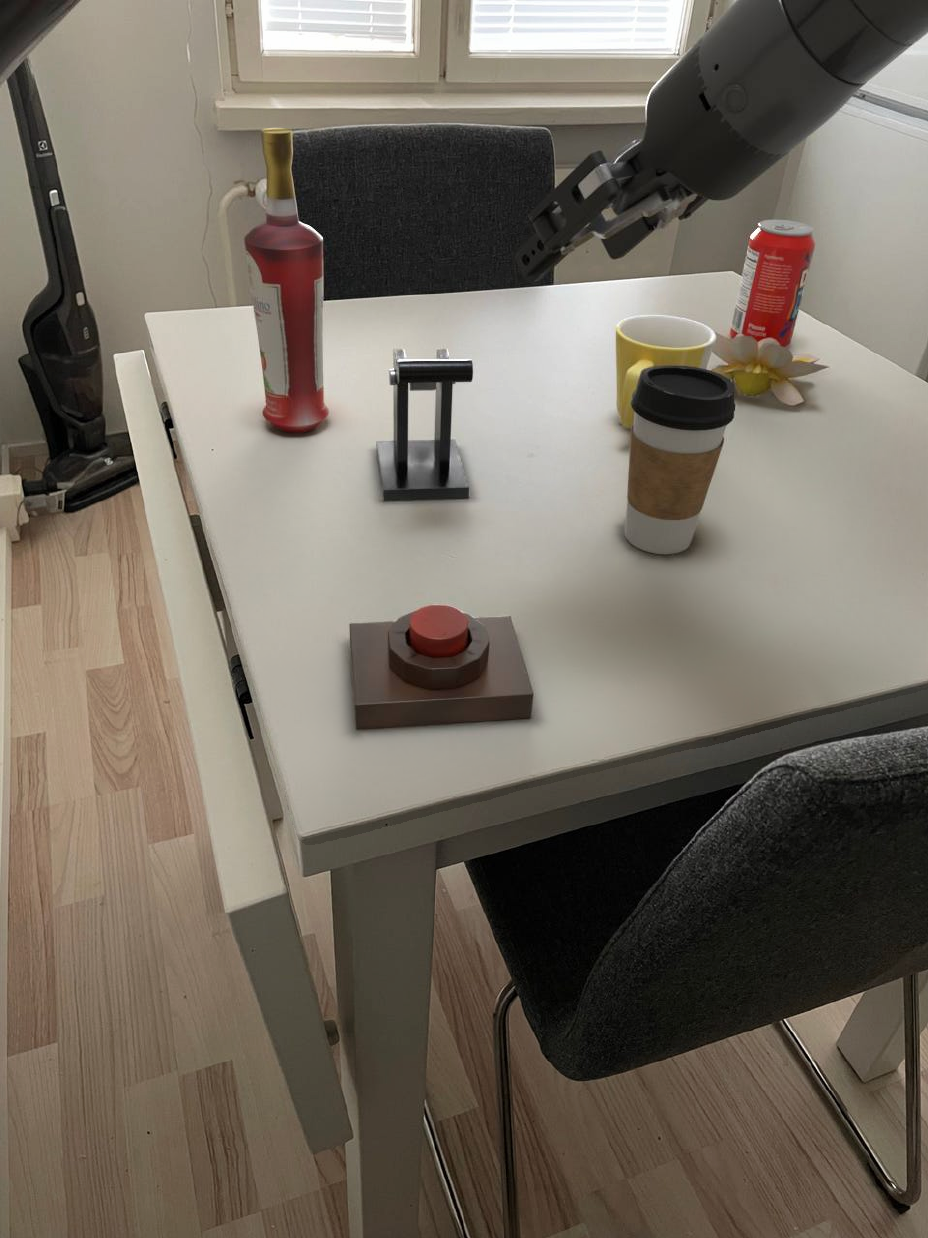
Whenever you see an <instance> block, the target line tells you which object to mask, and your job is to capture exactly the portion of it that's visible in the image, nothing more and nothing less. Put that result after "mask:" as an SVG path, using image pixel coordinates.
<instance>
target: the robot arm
mask: <svg viewBox="0 0 928 1238" xmlns="http://www.w3.org/2000/svg"><path fill="white" fill-rule="evenodd" d="M81 2H82V0H0V88H1V87H2V86H3V85H4V84H5V82H7V80H8V79H9V77H11V76H12V74H13V73H14V72H15V71H16V70H17V69H18V67H19V66H20V65H21V64H22V63H23V62H24V60H25V59H26V58H27V57H28V56H29V55H30V54H31V53H32V52H34V50H35V49H36V48H37V47H38V46H39V45H40V43H41V42H43V40H44V39H46V38H47V36H49V34H50V33H51V32H52V31H54V29H55V28H56V27H57V26H59V24H60V23H62V21H63V20H64V19H65V18H66V17H67V16H68V15H69V14H70V13H71V11H73V10H74V9H75V8H76V7H77V5H79V3H81ZM927 34H928V0H736V1H735V2H734V3H732V4H731V6H729V8H727V10H725V12H724V13H723V14H722V15H721V16H720V17H719V18H718V19H717V20H716V21H715V22H714V23H713V24H712V25H711V26H710V27H709V28H708V30H706V31H705V32H704V33H703V35H701V36H700V37H699V39H698V40H696V42H695V43H694V44H693V45H692V46H691V47H690V48H689V49H688V50H687V51H686V52H685V53H684V54H683V55H682V56H681V57H680V58H679V59H678V60H677V61H676V62H675V64H673V65H672V66H671V67H670V68H669V70H667V72H666V73H664V75H662V77H661V78H660V79H659V80H658V81H657V82H656V83H655V84H654V85H653V86H652V88H651V89H650V91H649V94H648V96H647V98H646V103H645V127H644V128H645V129H644V135H643V139H642V138H637V139H634V140H633V141H631V142H629V143H628V144H626V145H625V146H623V147H621V148H620V149H618V150H617V152H616V153H615V156H614V158H612V159H611V160H609V161H608V160H607V158H606V156H605V154H604V152H603V150H597V151H594V152H591V153H589V154H588V155H587V157H585V159H583V160H582V162H581V163H579V164H578V165H577V166H576V167H575V168H574V169H573V170H572V171H571V172H570V173H569V174H568V175H567V176H566V177H565V178H564V179H563V180H562V181H561V182H560V183H558V185H557V186H556V187H555V188H554V189H552V190H551V192H550V193H548V195H547V196H546V197H544V198H543V200H541V201H540V202H539V203H538V204H537V206H535V207H534V208H533V209H532V210H531V212H529V213H528V215H527V216H528V218H529V220H530V222H531V224H532V225H533V227H534V229H535V232H534V233H533V234H532V235H531V236H530V237H529V238H528V239H527V240H526V241H525V242H524V243H523V244H522V245H521V246H520V247H519V248H518V249H517V250H516V251H515V253H514V261H515V264H516V265H517V267H518V269H519V271H520V273H521V275H522V277H523V279H524V281H525V282H526V283H528V284H533V283H536V282H539V281H541V280H542V279H543V278H544V277H545V276H546V275H547V274H549V273H550V272H551V271H552V270H553V269H554V268H555V267H556V266H557V265H558V264H559V263H560V262H561V261H563V259H565V258H566V257H567V256H568V255H569V254H570V253H572V252H573V251H575V250H576V249H577V248H578V247H580V246H581V245H583V244H585V243H586V242H588V241H590V240H591V239H593V238H594V237H598V238H599V239H600V241H601V243H602V245H603V247H604V249H605V251H606V252H607V254H608V257H609V258H610V259H611V260H618V259H622V258H623V257H625V256H626V255H627V254H629V253H630V252H631V251H632V250H633V249H634V248H636V247H637V246H638V245H639V244H640V243H641V242H642V241H644V240H645V239H646V238H648V237H649V236H650V235H651V234H652V233H653V232H654V231H659V230H663V229H665V228H668V227H669V225H670V223H672V222H673V220H675V219H678V221H682V220H686V219H688V218H690V217H691V216H692V215H693V213H694V212H696V211H697V210H698V209H699V208H700V207H701V206H703V205H704V204H705V203H706V202H707V201H709V200H710V201H726V200H730V199H732V198H734V197H736V196H737V195H738V194H739V193H741V192H742V191H744V189H746V188H747V187H748V186H750V184H752V183H753V182H754V181H756V180H757V179H758V178H759V177H761V176H762V175H763V174H764V173H766V172H767V171H768V170H769V169H771V168H772V167H773V166H774V165H775V164H777V163H778V162H779V161H780V160H782V159H783V158H784V157H785V156H787V155H788V154H789V153H790V152H791V151H793V149H795V148H796V147H797V146H798V145H800V144H801V143H802V142H803V141H805V140H807V138H808V137H810V136H811V135H812V134H813V133H815V132H816V131H818V129H819V128H821V127H822V126H823V125H824V124H826V123H827V122H828V121H829V120H831V118H833V117H834V116H835V115H836V114H837V113H838V112H839V111H840V110H841V109H842V108H843V107H844V106H845V105H846V104H847V102H848V101H849V100H850V99H851V98H852V97H853V96H854V95H855V94H856V93H857V92H858V91H859V90H860V89H861V88H863V87H864V86H865V85H866V84H867V83H868V82H869V81H870V80H872V79H873V78H874V77H875V76H876V75H878V74H879V73H880V72H881V71H882V70H884V69H885V68H886V67H887V66H888V65H890V64H891V63H892V62H894V61H895V60H896V59H897V58H899V57H900V56H901V55H902V54H903V53H904V52H906V51H907V50H909V48H911V47H912V46H913V45H914V44H916V43H918V41H920V40H921V39H922V38H923V37H925V36H926V35H927ZM608 209H611V210H612V212H613V213H614V215H615V217H613V218H610V219H609V218H606V217H605V216H604V215H603V213H602V212H604V211H605V210H608Z"/></svg>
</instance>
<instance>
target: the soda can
mask: <svg viewBox="0 0 928 1238" xmlns="http://www.w3.org/2000/svg"><path fill="white" fill-rule="evenodd" d="M813 232H814V229H813V227H811V226H810V225H808V224H806V223H802V222H800V221H794V220H789V219H788V220H787V219H765V220H761V221H759V223H758V227H757V229H755V231H753V233H751V235H750V237H749V241H748V246H747V250H746V255H745V260H744V265H743V269H742V272H741V278H740V283H739V288H738V292H737V297H736V301H735V307H734V310H733V315H732V320H731V324H730V331H729V337H730V340H732V339H733V338H734V337H736V335H737V334H739V333H741V334H743V335H744V336H750V337H753V338H754V339H755V340H756V341H757V342H759V341H761V340H763V339H765V338H773V339H775V340H777V341H778V343H779V344H780V346H782V347H785V348H787V347H789V346H790V344H791V342H792V339H793V334H794V330H795V327H796V323H797V318H798V315H799V311H800V307H801V304H802V300H803V295H804V291H805V288H806V284H807V279H808V275H809V271H810V267H811V265H812V260H813V257H814V252H815V247H816V242H815V240H814V236H813V234H812V233H813Z"/></svg>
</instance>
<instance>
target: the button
mask: <svg viewBox="0 0 928 1238" xmlns="http://www.w3.org/2000/svg"><path fill="white" fill-rule="evenodd" d="M414 611H415V612H414V613H413V614H412V616H411V618H410V645H411V647H412V648H413V650H414V651H415V652H417V653H418V654H421V655H424V656H427V657H431V658H448V657H453V656H455V655H458V654H460V653H461V652H462V651H463V650H464V649H465V647H466V645H467V636H468V619H467V617H466V615H465V614H464V613H465V612H464V611H462V610H460V609H458V608H457V607H455V606H452V605H448V604H447V605H446V604H430V605H429V604H428V605H425V606H422V607H420V608H418V609H416V610H414ZM463 612H464V613H463Z"/></svg>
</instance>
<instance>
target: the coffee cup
mask: <svg viewBox="0 0 928 1238" xmlns="http://www.w3.org/2000/svg"><path fill="white" fill-rule="evenodd" d="M710 370H711V369H707V368H706V369H702V368H697V367H690V366H672V365H669V366H654V367H648V368H645V369H643V370H642V371H641V373H640V376H639V380H638V383H637V387H636V390H635V391H634V392H633V394H632V400H631V407H632V408H633V410H634V411H635V414H634V423H633V424H632V427H631V428H630V441H629V455H628V474H627V475H628V476H627V491H626V493H627V495H626V498H627V502H626V510H625V511H626V512H625V523H624V524H625V525H624V535H625V538H626V540H627V541H628V542H629V543H630V544H631V545H632V546H634V547H635V548H637V549H638V550H642V551H644V552H647V553H651V554H657V555H675V554H679V553H681V552H683V551H685V550H687V549H688V548H689V547H690V546H691V543H692V541H693V538H694V534H695V531H696V528H697V524H698V521H699V517H700V515H701V511H702V509H703V507H704V504H705V500H706V498H707V495H708V492H709V489H710V485H711V482H712V479H713V476H714V473H715V470H716V467H717V465H718V461H719V458H720V456H721V454H722V453H721V452H722V449H723V446H724V444H725V437H724V436H725V432H726V428H727V425H729V424H730V423H731V422H733V420H734V418H735V411H736V402H735V393H736V386H735V384H734V382H732V380H729V379H728V378H727V377H725V376H723V375H721V374H719V373H716V372H713V371H710Z"/></svg>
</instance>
